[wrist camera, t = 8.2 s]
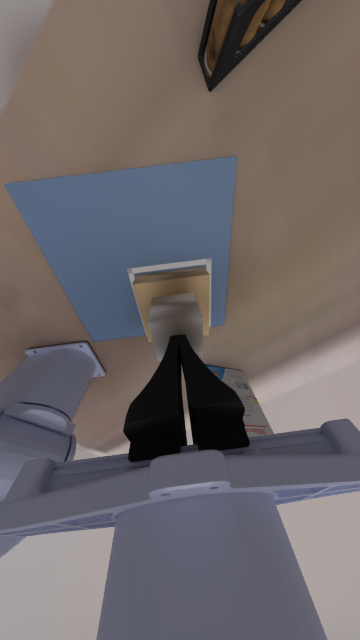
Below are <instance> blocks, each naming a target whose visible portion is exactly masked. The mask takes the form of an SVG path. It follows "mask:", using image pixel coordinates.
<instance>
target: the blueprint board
mask: <svg viewBox="0 0 360 640" xmlns="http://www.w3.org/2000/svg"><path fill="white" fill-rule="evenodd" d="M236 160H237V156H234V157H225V158H217V159H209V160H200V161H192V162H184V163H175V164H167V165H159V166H150V167H142V168H134V169H125V170H117V171H108V172H100V173H92V174H83V175H75V176H67V177H58V178H50V179H42V180H33V181H25V182H17V183H8V184H4V185H5V187H6V188H7V190H8V192H9V194H10V195H11V197H12V199H13V201H14V203H15V204H16V206H17V208H18V210H19V211H20V213H21V215H22V217H23V218H24V220H25V222H26V224H27V226H28V227H29V229H30V231H31V233H32V234H33V236H34V238H35V240H36V242H37V243H38V245H39V247H40V249H41V250H42V252H43V254H44V256H45V258H46V259H47V261H48V263H49V265H50V266H51V268H52V270H53V272H54V274H55V275H56V277H57V279H58V281H59V282H60V284H61V286H62V288H63V290H64V291H65V293H66V295H67V297H68V298H69V300H70V302H71V304H72V305H73V307H74V309H75V311H76V313H77V314H78V316H79V318H80V320H81V321H82V323H83V325H84V327H85V329H86V330H87V332H88V334H89V336H90V337H91V339H92V341H93V342H95V341H103V340H110V339H118V338H126V337H134V336H142V335H147V334H146V331H145V327H144V324H143V320H142V317H141V314H140V310H139V307H138V303H137V300H136V296H135V293H134V289H133V286H132V284H133V282H134V280H135V278H136V276H137V275H144V274H152V273H160V272H168V271H176V270H184V269H192V268H200V267H204V268H205V269H206V271H207V272H208V273H209V274H210V306H209V327H212V326H220V325H224V320H225V307H226V293H227V280H228V267H229V253H230V240H231V227H232V213H233V200H234V187H235V173H236Z"/></svg>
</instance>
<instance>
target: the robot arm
mask: <svg viewBox="0 0 360 640" xmlns="http://www.w3.org/2000/svg"><path fill="white" fill-rule="evenodd" d="M81 345H82V346H81ZM25 354H26V355H27V357H26V358H25V359H24V360H23V361H22V362H21V363H20V364H19V365H18V366H17V367H16V368H15V369H14V370H13V371H12V372H11V373H10V374H9V375H8V376H7V377H6V378H5V379H4V380H3V381H2V382H1V383H0V558H1V557H2V556H3V555H5V554H6V553H7V552H9V551H10V550H11V549H12V548H13V547H15V546H16V545H17V544H18V543H20V542H21V541H22V540H23V539H24V538H25V537H26V536H32V535H40V534H48V533H57V532H66V531H76V530H87V529H96V528H106V527H115V531H114V538H113V543H112V550H111V555H110V561H109V568H108V574H107V580H106V586H105V592H104V599H103V604H102V610H101V616H100V622H99V628H98V634H97V640H327V637H326V635H325V633H324V630H323V627H322V624H321V622H320V619H319V617H318V614H317V611H316V609H315V606H314V604H313V601H312V598H311V596H310V593H309V590H308V588H307V585H306V583H305V580H304V577H303V575H302V572H301V570H300V567H299V564H298V562H297V559H296V557H295V554H294V551H293V549H292V546H291V543H290V541H289V538H288V536H287V533H286V531H285V528H284V525H283V523H282V520H281V517H280V515H279V512H278V510H277V507H276V505H279V504H285V503H290V502H296V501H302V500H307V499H313V498H319V497H325V496H331V495H337V494H343V493H350V492H357V491H360V431H359V430H358V429H357V428H356V427H355V426H354V425H353V423H352V422H351V421H350V420H349V419H340V420H333V421H328V422H325V423H324V424H322V426H321V428H316V429H308V430H301V431H293V432H286V433H278V434H271V435H263V436H255V437H248V435H247V433H246V430H245V424H244V421H243V416H244V413H245V408H244V405H243V403H242V401H241V399H240V398H239V396H238V394H237V393H236V391H235V390H233V389H232V388H231V387H229V386H228V385H227V384H225V383H224V382H223V381H222V380H221V379H219V378H218V377H217V376H216V375H215V374H214V373H213V372H212V371H211V370H210V369H209V368H208V367H207V366H206V365H205V364H204V363H203V362H202V361H201V359H200V358H199V357H198V355H197V354H196V353H195V351H194V350H193V348H192V347H191V345H190V343H189V341H188V339H187V337H186V335H185V334H183V335H175V336H170V338H169V342H168V346H167V349H166V351H165V354H164V356H163V358H162V361H161V363H160V365H159V367H158V368H157V370H156V372H155V373H154V375H153V377H152V378H151V380H150V381H149V382H148V384H147V385H146V386H145V388H144V389H143V390H142V392H141V393H140V394H139V395H138V396H137V397H136V398H135V400H134V401H133V402H132V403H131V404H130V406H129V409H128V412H127V415H126V419H125V424H124V429H123V432H124V434H125V435H126V437H127V438H128V439H129V441H130V449H129V453H127V454H120V455H112V456H105V457H98V458H90V459H82V460H75V461H73V459H74V455H75V451H76V437H75V435H74V434H72V432H73V430H74V428H75V424H73V423H72V422H71V421H72V419H73V417H74V415H75V413H76V411H77V409H78V406H79V404H80V402H81V400H82V398H83V396H84V394H85V391H86V389H87V387H88V385H89V383H90V381H91V379H92V378H93V377H101V376H105V374H106V373H105V371H104V369H103V368H102V366H101V364H100V363H99V361H98V359H97V358H96V356H95V354H94V352H93V351H92V349H91V347H90V346H89V344H88V343H87V342H79V343H71V344H63V345H56V346H48V347H40V348H32V349H27V350H26V351H25ZM181 364H182V368H183V373H184V378H185V383H186V391H187V400H188V408H189V415H190V422H191V430H192V438H193V445H188V446H187V438H186V428H185V419H184V409H183V399H182V387H181Z"/></svg>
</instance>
